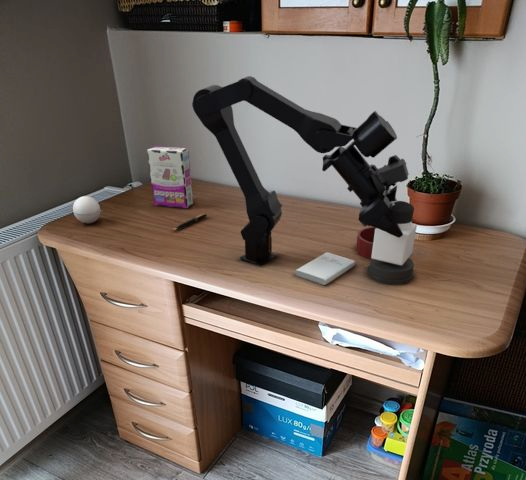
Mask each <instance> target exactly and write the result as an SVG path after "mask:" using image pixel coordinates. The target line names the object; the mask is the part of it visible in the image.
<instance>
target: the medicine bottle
mask: <svg viewBox="0 0 526 480" xmlns="http://www.w3.org/2000/svg"><path fill="white" fill-rule="evenodd" d="M390 203H392V211H391V213H392V215H393V217H394V219H395V221H396V222H397V224H398V226H399V227H400V229H401V231H402V233H403V235H402V236H401V237H400V238H398V237H396V236H394V235H391V234H389V233H387V232H385V231H382V230H380V229H378V228H376V229H375V234H374V242H372V243H373V249H372V256H371V258H372V259H375V260H379V261H384V262H388V263H393V264H397V265H403V264H404V263H405V261H406V260H407V259H408V258H410V257H411V255H412V253H413V249H414V243H415V237H416V233H417V225H418V224H417V223H413V217H414V212H415V206H414V205H413V204H411V203H409V202H407V201H404V200H397V201H392V202H390Z"/></svg>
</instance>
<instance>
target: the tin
mask: <svg viewBox="0 0 526 480" xmlns="http://www.w3.org/2000/svg"><path fill="white" fill-rule="evenodd" d="M375 229H376V228H375V227H372V226H368V227H365V228H362V229H360V230H359V231H358V232H357V235H356V236H357V237H356V245H355V251H356V252H357V254H358V255H359V256H361V257H363V258H364V259H369V260H371V256H372V249H373V242H374V234H375Z"/></svg>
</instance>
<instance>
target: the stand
mask: <svg viewBox="0 0 526 480" xmlns="http://www.w3.org/2000/svg"><path fill="white" fill-rule="evenodd" d="M414 266H415V261H413V260H412V259H411V258H410V257H409V258H408V259H407V260H406V261H405V263H404V264H403V265H397V264H393V263H388V262H384V261H379V260H375V259H372V258H371V259H369V265H368V266H367V269H366V274H367V276H368V278H369V279H371V280H373V282H377V283H379V284H384V285H392V286H399V285H400V286H401V285H405V284H408V283H410V282H411V281H413V280H414V277H415V270H414Z"/></svg>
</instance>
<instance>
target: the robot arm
mask: <svg viewBox="0 0 526 480" xmlns="http://www.w3.org/2000/svg"><path fill="white" fill-rule="evenodd" d="M241 102H247V104H250V105H251V106H253V107H255V108H257V109H258V110H260V111H262V112H263V113H265V114H267V115H268V116H270V117H272V118H273V119H275V120H277V121H278V122H280V123H282V124H284V125H285V126H287V127H288V128H291V129H292V130H294V132H296V133H297V134H298V135H299V137H300V138H301V140H303V142H305V143H306V144H307V145H308V146H309V147H310V148H312V149H313V150H314V151H315V152H316V153H319V154H324V155H323V156H322V169H321V171H322V172H326V171H327V170H328V169H329V168H330V167H333V169H334V170H335V171H336V172H337V174H338V175H339V176H340V177H341V179H342V180H343V181H344V182H345V183H346V184H347V188H346V189H347V191H349V193H351V192H353V193H354V194H355V195H356V197H357V198H358V199H359V201H360V202H359V205H360V206H361V208H360V211H359V213H358V222H360V224H361V225H362V226H363V227H365V228H366V227H367V226H368V227H375V228H378V229H380V230H382V231H385V232H387V233H389V234H391V235H394V236H396V237H398V238H400V237H401V236H402V235H403V233H402V231H401V229H400V227H399V226H398V224H397V222H396V221H395V219H394V217H393V215H392V213H391V211H392V203H390V202H392V201H398V200H397V190H398V185H397V183H402V182H405V181H406V180H408V179H409V175H410V173H409V171H408V167H407V162H406V160H405V159H404V158H400V157H399V156H398V155H396V154H395V155H391V156H389V158H388V159H387V160H388V161H387V164H383V166H382V167H379V168H378V167H377V166H376V165H375V164H373V163H371V164H369V162H368V161H367V160H366V158H370V157H371V158H372V159H373V158H376V157H377V156H378V155H379V154H381V153H382V152H383V151H384V150H385V149H386V148H388V147H389V146H390V145H391V144H392V143H393V142H395V140H397V139H398V136H397V133H396V131H395V129H394V128H393V126H392V125H391V124H390V123H389V121H388V120H385V118H384V117H383V116H381V115H380V114H379V113H378V112H377V111H376V110H374V111H372V112H371V113H370V114H369V116H368V117H367V118H366V119H365V120H364V121H363V122H362V123H360V125H358V127H354V126H351V125H345V124H342V123H341V122H340V121H339V120H337V119H336V118H334V117H332V116H329V115H327V114H323V113H320V112H316V111H311V110H308V109H306V108H303V106H300V105H299V104H297V103H295V102H293V101H292V100H290V99H288V98H287V97H285V96H283V95H282V94H280V93H278V92H277V91H275V90H273V89H272V88H270V87H268V86H267V85H265V84H263V83H261V82H259V81H258V80H257V79H256V78H255V77H254V76H250V75H248V76H245V77H242V78H240V79H238V80H237V81H234V82H233V83H229V84H227V85H225V86H220V85H218V84H211V85H208V86H206V87H203V88H202V89H201V88H200V89H199V90H197V91H196V92H195V94H194V95H193V99H192V102H191V107H192V110H193V112H194V114H195V115H196V116H197V118H198V119H199V121H200V122H201V124H202V125H203V127H205V128H206V129H207V130H208V131H209V132H210V133H211V134H212V135H213V136H214V137H215V139H216V142H217V143H218V145H219V147H220V149H221V151H222V154H223V155H224V157H225V159H226V161H227V164H228V166H229V167H230V169H231V172H232V174H233V175H234V177H235V180H236V182H237V184H238V186H239V188H240V190H241V192H242V194H243V196H244V199H245V209H246V214H247V218H248V222H247V223H246V225H245V226H243V228H241V230H240V235H241V238H242V240H243V241H244V255H242V256H240V261H244V262H247V263H250V264H253V265H256V266H260V267H262V266H264V265H266V264H267V263H269V262H270V261H272V260H274V259H276V258H277V254H275V253H273V250H272V248H273V247H272V242H273V237H272V231H273V229H274V228H275V227H276V225H277V224H278V223H279V221H280V220H281V218H282V214H283V211H282V208H283V204H282V203H281V202H280V200H279V198H278V195H277V193H276V190H272V191H271V192H269V191H268V190H267V189H266V188H265V187H264V186H263V184H262V182H261V180H260V177H259V175H258V173H257V171H256V169H255V167H254V165H253V162H252V160H251V158H250V156H249V154H248V151H247V150H246V148H245V145H244V144H243V141H242V140H241V137H240V135H239V133H238V131H237V129H236V126H235V120H234V111H233V107H232V106H234V105H236V104H238V103H241ZM352 140H353V141H352ZM351 141H352V142H351ZM350 142H351V143H350ZM335 148H336V149H335ZM334 149H335V150H334ZM333 150H334V151H333ZM332 151H333V152H332ZM330 152H332V153H331V154H327V153H330ZM391 186H392V188H391Z"/></svg>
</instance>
